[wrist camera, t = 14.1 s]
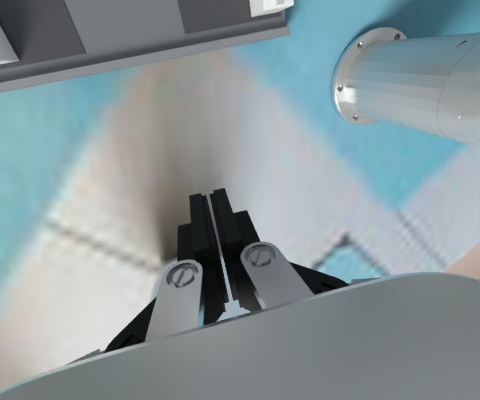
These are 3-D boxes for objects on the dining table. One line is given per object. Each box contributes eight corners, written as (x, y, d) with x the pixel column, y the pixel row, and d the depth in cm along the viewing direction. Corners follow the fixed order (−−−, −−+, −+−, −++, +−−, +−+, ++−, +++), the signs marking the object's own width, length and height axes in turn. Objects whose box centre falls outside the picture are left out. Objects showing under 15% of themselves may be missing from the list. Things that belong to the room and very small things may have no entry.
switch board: (271, -63, 27) (284, -79, 24) (278, 36, 32) (290, 34, 28) (-53, -15, 23) (-87, -26, 20) (10, 90, 28) (-9, 94, 25)
